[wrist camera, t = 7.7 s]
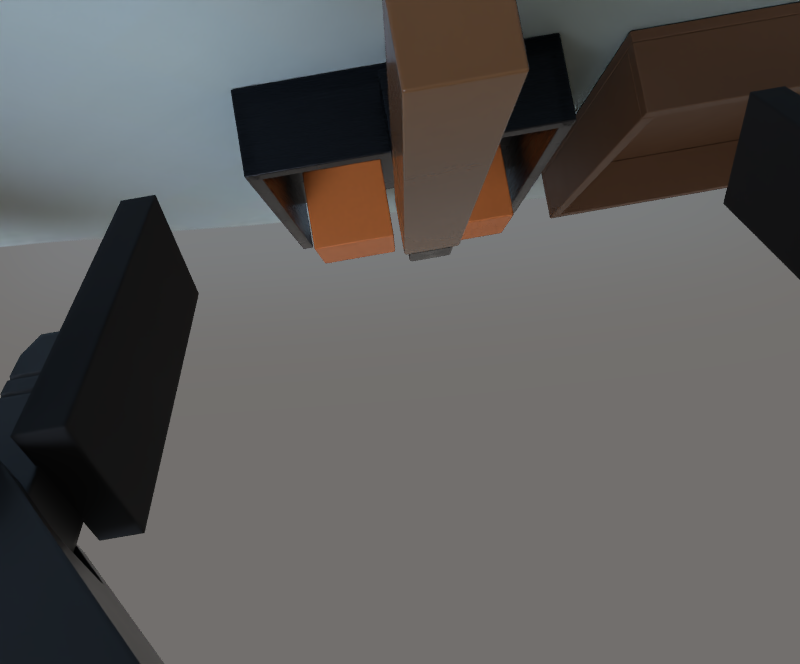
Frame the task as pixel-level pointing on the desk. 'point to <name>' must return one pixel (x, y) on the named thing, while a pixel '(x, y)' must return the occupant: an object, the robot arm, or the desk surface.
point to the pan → (416, 118)
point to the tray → (671, 110)
